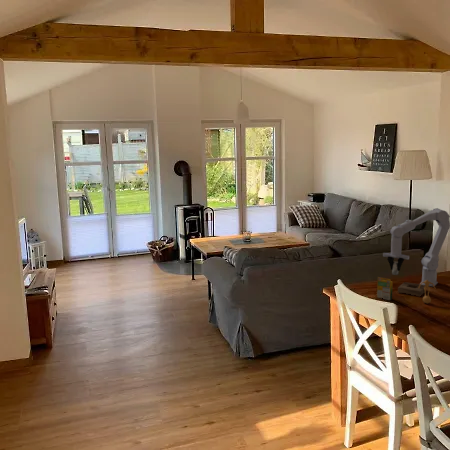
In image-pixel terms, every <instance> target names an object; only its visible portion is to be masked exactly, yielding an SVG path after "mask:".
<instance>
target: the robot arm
mask: <svg viewBox="0 0 450 450" xmlns="http://www.w3.org/2000/svg"><path fill="white" fill-rule="evenodd" d="M427 221H436V224H437V225H438V228H437V230H436V233H435V236H434V238H433V240H432V243H431V245H430V248H429V250H428V251H427V252H426V253H425V255H424V257H422V259H421V265H422V271H421V272H422V273H421V274H422V276H421V282H420V283H422V282H424V281H426V280H428V281H429V282H431V283H433V284H434V286H435V287H436V286H437V285H438V283H439V282H438V281H437V275H438V271H437V269H438V267H439V260H440V258H439V254H440V252H441V250H442V247H443V245H444V242H445V241H446V238H447V236H448V233H449V230H450V214H449V212H448V211H447V210H443V209H441V208H438V207H437V208H433V209H431V210H429V211H427V212H426V213H424V214H422V215H420V216H419V217H416V218H415V219H413V220H411V219H406V220H405V221H404V222H402V223H398V224H397V225H394V226H392V227H391V229H390V230H389V233H390V234H391V238H390V239H391V240H390V241H391V242H390V252H382V257H383V258H384V257H386V259H387V262H388V264H389V267H390V271H392V264H393V262H395V261H394V259H397V262H398V272H399V271H401V268H402V265H403V263H404V261H405V260H408V261H409V260H410V255H406V254H402V247H403V236H404V235H405V234H406V233H409V232H410V231H412V230H414V229H416V226H418V225H421V224H423V223H425V222H427ZM433 284H430V283H429V286H428V287H433V288H434V286H433ZM421 285H425V283H423V284H421Z"/></svg>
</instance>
